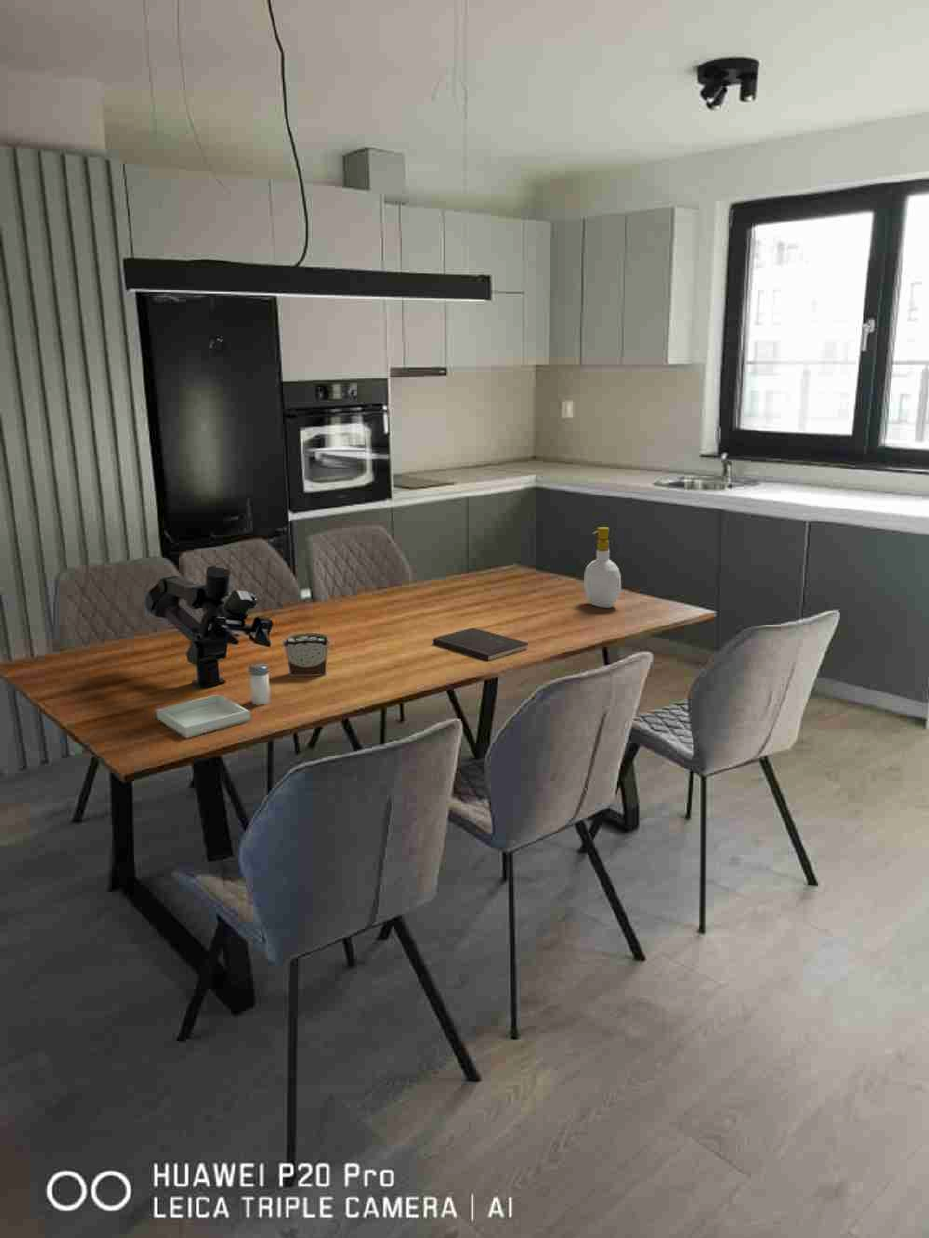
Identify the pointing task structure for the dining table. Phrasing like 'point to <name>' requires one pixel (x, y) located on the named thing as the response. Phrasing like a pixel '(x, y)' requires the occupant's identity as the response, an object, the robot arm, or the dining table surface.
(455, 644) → the hardcover book
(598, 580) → the soap bottle
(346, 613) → the dining table surface
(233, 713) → the tray
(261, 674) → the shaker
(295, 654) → the food container
